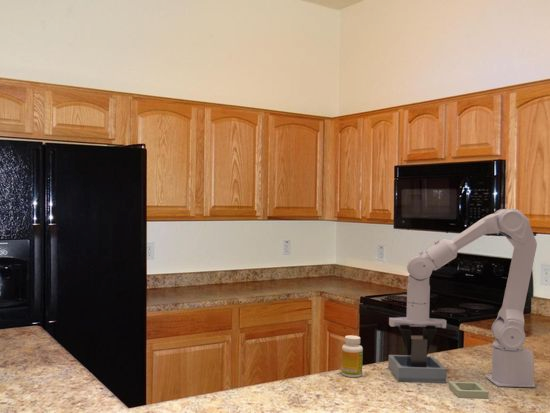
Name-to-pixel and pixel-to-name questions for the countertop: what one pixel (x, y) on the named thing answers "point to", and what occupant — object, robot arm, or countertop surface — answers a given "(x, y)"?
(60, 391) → the countertop surface
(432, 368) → the tray
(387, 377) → the countertop surface
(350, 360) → the supplement bottle
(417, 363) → the dark wooden post
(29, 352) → the countertop surface
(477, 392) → the holder
